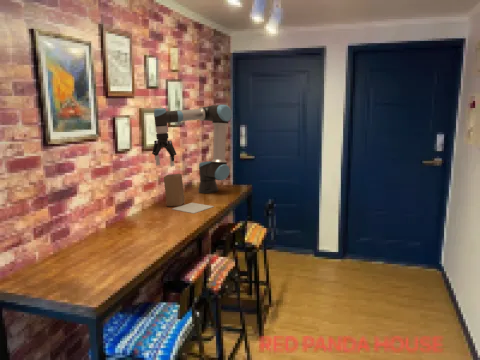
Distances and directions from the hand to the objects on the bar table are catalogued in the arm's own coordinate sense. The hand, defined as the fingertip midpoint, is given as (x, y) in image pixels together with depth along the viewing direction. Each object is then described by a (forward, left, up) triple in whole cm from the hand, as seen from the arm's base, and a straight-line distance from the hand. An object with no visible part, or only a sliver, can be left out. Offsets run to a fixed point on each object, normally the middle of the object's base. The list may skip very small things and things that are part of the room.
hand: (165, 165), depth 241 cm
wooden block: (-3, +4, -27) cm, 27 cm away
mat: (-3, +20, -27) cm, 33 cm away
